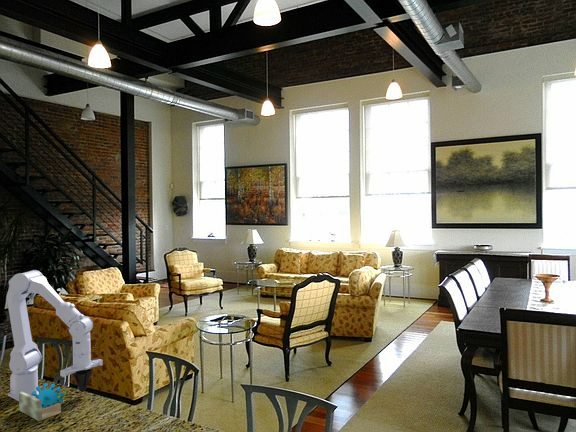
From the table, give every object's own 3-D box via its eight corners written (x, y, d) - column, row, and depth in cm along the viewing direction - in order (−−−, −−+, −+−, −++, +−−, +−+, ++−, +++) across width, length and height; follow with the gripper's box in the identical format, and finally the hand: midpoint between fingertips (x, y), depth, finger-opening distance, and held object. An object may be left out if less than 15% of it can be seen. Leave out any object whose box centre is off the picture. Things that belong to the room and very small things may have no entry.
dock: (19, 410, 150) (19, 392, 150) (41, 403, 156) (40, 385, 156) (38, 421, 143) (38, 402, 142) (61, 412, 148) (60, 394, 148)
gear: (33, 413, 145) (29, 384, 150) (28, 422, 147) (24, 393, 153) (70, 406, 152) (64, 379, 158) (63, 415, 155) (59, 388, 161)
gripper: (67, 360, 153) (68, 400, 153) (107, 349, 164) (107, 386, 164) (56, 356, 157) (57, 395, 157) (96, 345, 168) (96, 382, 169)
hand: (82, 390), depth 161 cm, fingers closed
